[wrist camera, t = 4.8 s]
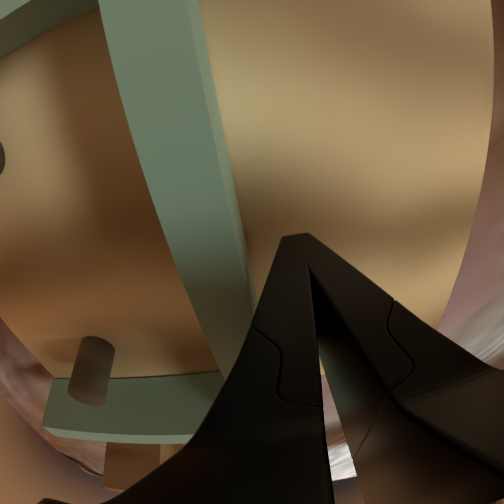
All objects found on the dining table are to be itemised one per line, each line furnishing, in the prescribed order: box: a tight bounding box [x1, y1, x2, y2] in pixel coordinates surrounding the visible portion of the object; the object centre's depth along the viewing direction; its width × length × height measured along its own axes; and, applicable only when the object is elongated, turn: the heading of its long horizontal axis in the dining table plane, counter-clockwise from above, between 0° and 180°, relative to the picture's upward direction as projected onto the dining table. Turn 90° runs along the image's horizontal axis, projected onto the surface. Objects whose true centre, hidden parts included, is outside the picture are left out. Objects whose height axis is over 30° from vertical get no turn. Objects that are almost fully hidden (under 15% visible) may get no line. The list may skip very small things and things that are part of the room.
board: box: [0, 0, 494, 406], centre depth 9 cm, size 18×20×4 cm
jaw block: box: [102, 442, 186, 494], centre depth 18 cm, size 5×4×6 cm
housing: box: [0, 0, 258, 444], centre depth 8 cm, size 16×12×3 cm
